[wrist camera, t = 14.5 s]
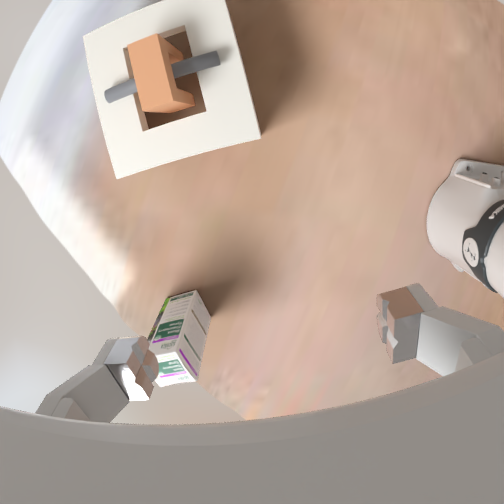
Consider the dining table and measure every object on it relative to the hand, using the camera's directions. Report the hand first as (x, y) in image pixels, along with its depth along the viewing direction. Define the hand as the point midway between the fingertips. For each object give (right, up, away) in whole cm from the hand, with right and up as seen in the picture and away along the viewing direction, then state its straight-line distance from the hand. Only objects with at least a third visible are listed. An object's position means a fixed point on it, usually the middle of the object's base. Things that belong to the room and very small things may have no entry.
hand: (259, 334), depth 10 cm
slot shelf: (-9, +24, +26) cm, 37 cm away
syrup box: (-10, -6, +39) cm, 41 cm away
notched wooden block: (-9, +22, +22) cm, 32 cm away
